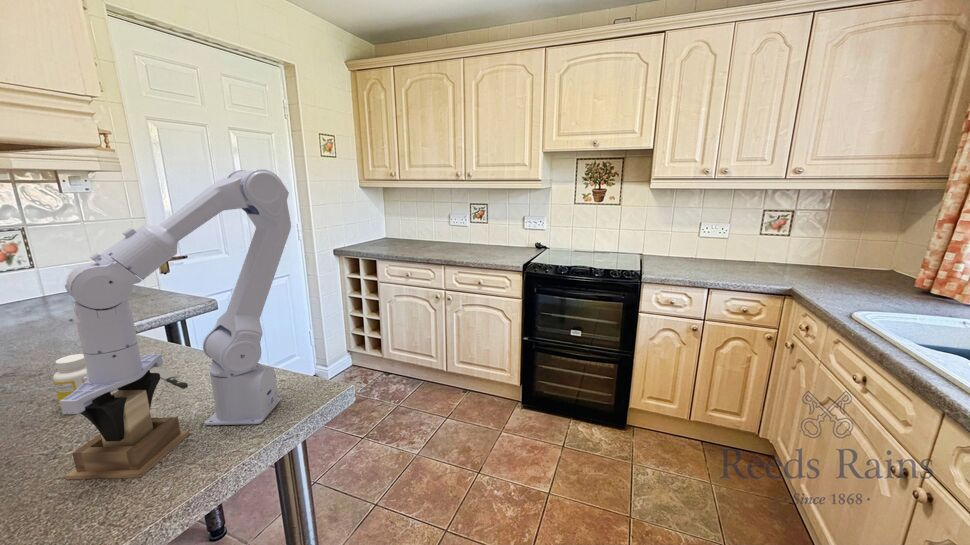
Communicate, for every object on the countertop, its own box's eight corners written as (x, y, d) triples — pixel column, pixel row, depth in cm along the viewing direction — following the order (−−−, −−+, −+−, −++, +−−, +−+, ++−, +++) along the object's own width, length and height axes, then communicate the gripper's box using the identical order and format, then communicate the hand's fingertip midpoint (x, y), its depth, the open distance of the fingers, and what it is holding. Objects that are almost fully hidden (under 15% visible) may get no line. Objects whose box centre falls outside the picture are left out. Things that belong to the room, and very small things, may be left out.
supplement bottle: (100, 396, 75) (90, 349, 73) (105, 406, 72) (94, 357, 70) (60, 407, 71) (48, 358, 69) (62, 419, 68) (50, 367, 66)
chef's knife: (155, 364, 90) (139, 369, 87) (155, 360, 90) (138, 364, 87) (199, 384, 81) (182, 390, 79) (198, 379, 81) (182, 384, 78)
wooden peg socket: (189, 433, 64) (186, 414, 64) (140, 477, 55) (136, 455, 54) (126, 435, 64) (122, 415, 63) (65, 479, 54) (60, 457, 53)
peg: (154, 436, 61) (146, 389, 59) (133, 452, 57) (123, 404, 55) (128, 436, 61) (118, 390, 59) (105, 453, 57) (94, 404, 55)
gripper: (124, 328, 62) (139, 404, 65) (25, 369, 48) (50, 464, 51) (170, 328, 63) (183, 403, 66) (85, 368, 49) (106, 462, 51)
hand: (128, 430), depth 58 cm, fingers closed on peg, 4 cm apart
